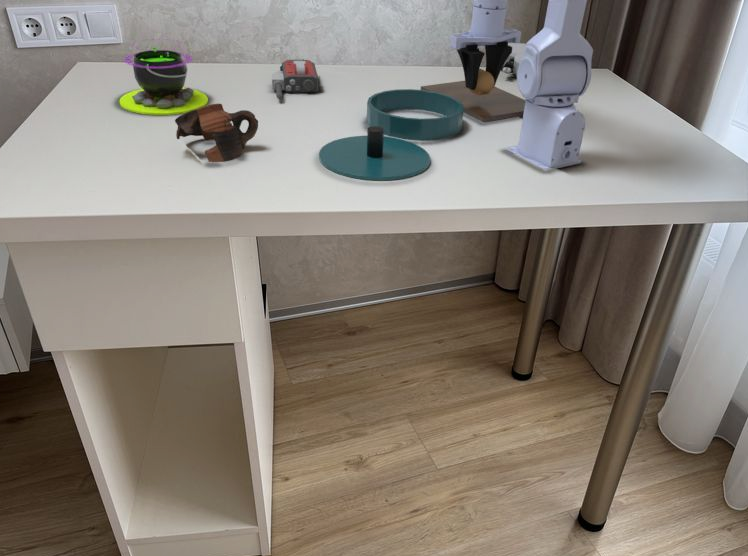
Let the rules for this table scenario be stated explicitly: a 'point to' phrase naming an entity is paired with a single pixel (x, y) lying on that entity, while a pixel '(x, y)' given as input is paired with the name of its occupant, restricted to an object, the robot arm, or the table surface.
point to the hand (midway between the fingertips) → (480, 87)
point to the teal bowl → (415, 126)
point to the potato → (483, 83)
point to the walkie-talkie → (295, 77)
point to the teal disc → (374, 157)
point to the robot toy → (514, 58)
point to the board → (482, 101)
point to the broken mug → (218, 130)
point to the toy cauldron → (161, 84)
